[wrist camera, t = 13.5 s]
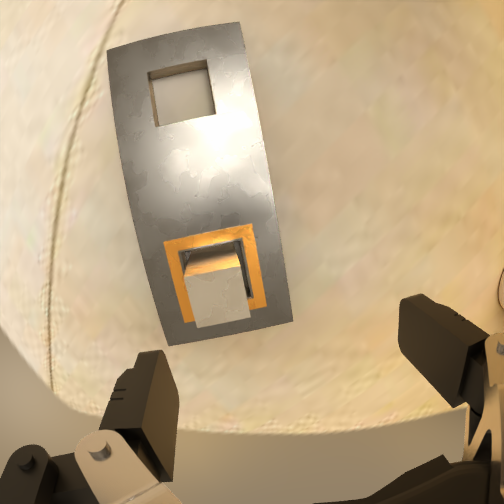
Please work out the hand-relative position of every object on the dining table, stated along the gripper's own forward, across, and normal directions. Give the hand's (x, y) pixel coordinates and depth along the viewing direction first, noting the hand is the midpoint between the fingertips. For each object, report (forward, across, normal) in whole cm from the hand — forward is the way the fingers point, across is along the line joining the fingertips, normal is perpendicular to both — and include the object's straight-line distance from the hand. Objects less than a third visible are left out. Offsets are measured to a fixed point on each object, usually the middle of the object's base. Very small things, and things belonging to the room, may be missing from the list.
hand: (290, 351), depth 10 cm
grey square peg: (+21, +3, +3) cm, 21 cm away
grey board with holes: (+21, +3, -5) cm, 21 cm away
